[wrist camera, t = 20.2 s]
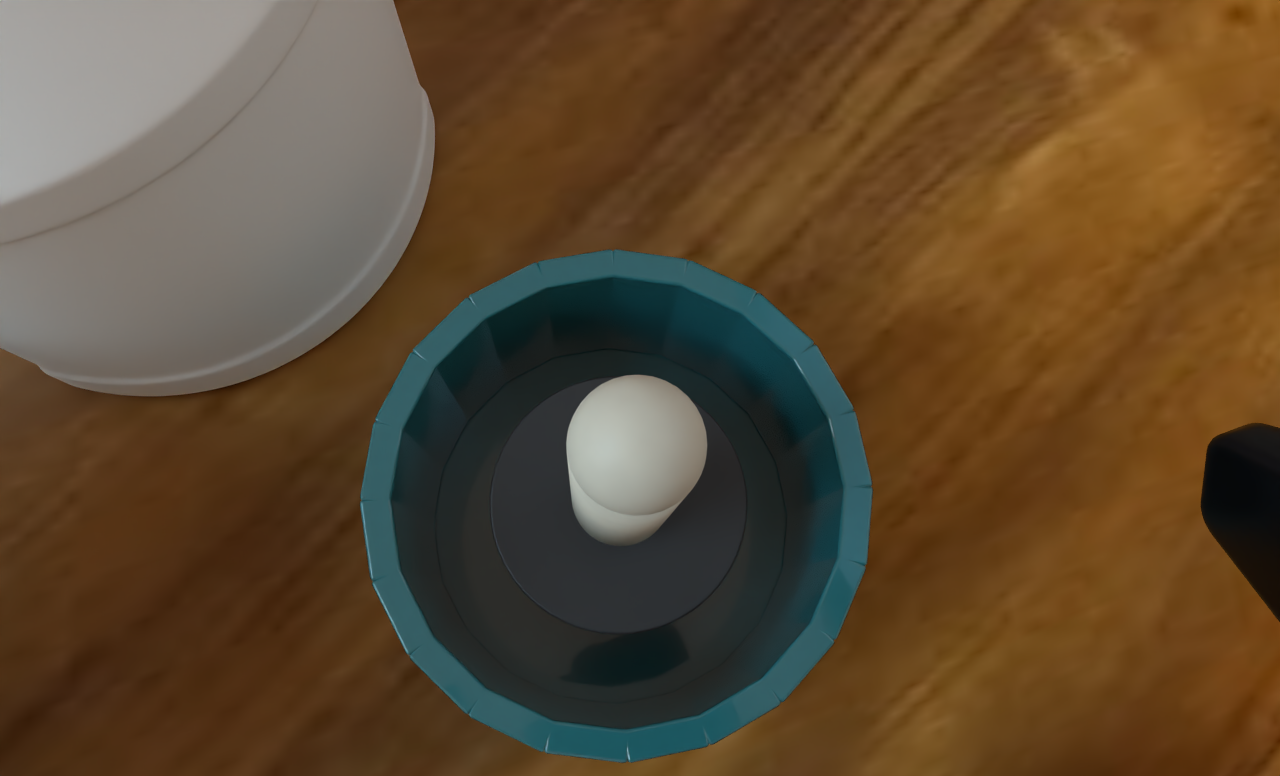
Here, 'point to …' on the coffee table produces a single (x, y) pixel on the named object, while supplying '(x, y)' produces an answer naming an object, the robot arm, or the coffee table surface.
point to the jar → (200, 183)
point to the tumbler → (481, 585)
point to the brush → (618, 504)
